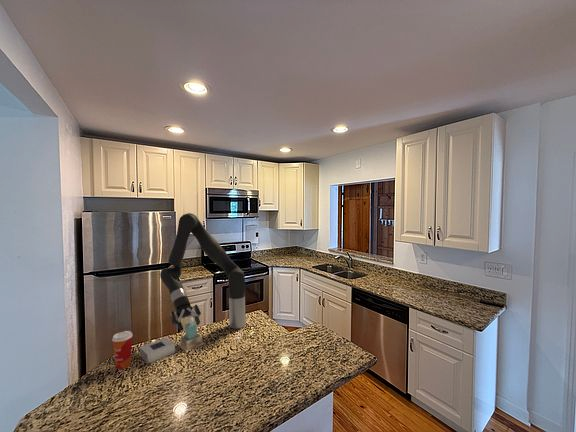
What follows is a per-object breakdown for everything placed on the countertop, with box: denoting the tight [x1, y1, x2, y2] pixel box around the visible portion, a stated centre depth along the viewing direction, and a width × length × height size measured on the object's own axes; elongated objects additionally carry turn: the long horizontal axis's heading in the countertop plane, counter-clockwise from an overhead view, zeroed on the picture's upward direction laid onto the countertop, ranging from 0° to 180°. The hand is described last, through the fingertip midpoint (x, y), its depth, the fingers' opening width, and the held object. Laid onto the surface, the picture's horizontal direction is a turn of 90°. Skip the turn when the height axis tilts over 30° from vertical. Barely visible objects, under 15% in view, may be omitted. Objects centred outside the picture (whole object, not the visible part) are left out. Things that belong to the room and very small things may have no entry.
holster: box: [177, 333, 206, 352], centre depth 129 cm, size 10×10×4 cm
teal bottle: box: [184, 316, 198, 341], centre depth 129 cm, size 4×4×13 cm
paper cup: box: [111, 330, 134, 370], centre depth 113 cm, size 8×8×14 cm
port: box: [139, 337, 176, 367], centre depth 121 cm, size 12×10×5 cm
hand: (190, 327), depth 129 cm, fingers open, 8 cm apart
